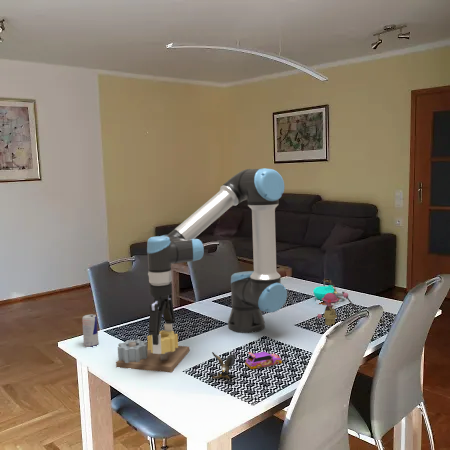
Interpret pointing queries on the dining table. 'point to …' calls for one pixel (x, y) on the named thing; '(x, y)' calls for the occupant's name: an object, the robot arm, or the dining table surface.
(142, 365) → the gear board
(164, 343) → the ochre gear
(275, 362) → the toy car
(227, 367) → the eagle figurine
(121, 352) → the slate gear
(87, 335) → the energy drink
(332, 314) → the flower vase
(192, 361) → the dining table surface
